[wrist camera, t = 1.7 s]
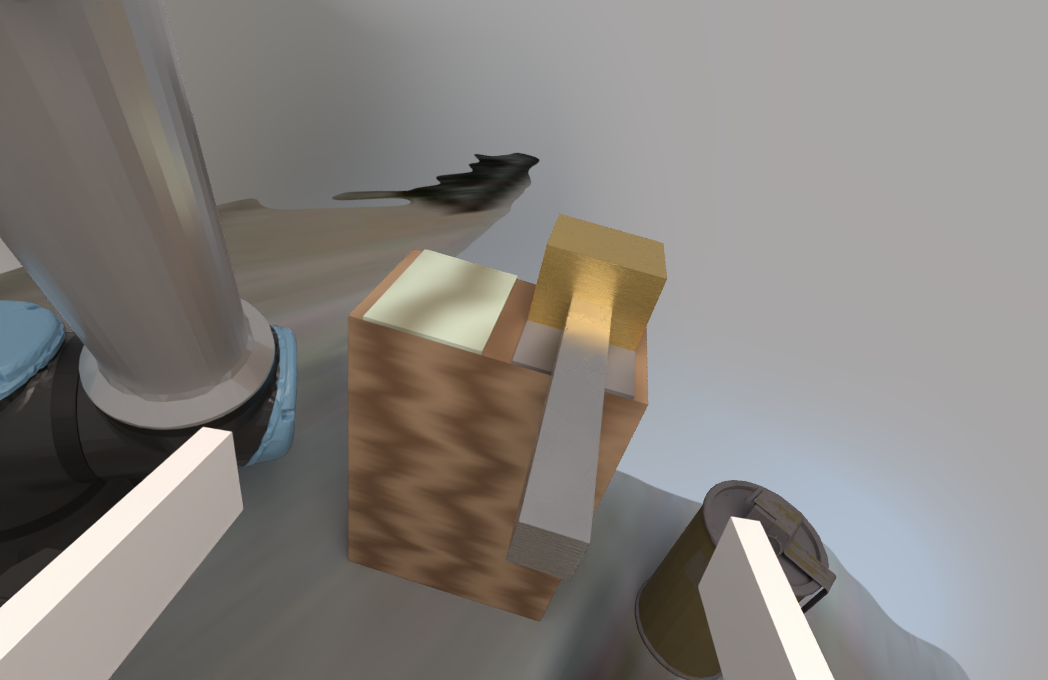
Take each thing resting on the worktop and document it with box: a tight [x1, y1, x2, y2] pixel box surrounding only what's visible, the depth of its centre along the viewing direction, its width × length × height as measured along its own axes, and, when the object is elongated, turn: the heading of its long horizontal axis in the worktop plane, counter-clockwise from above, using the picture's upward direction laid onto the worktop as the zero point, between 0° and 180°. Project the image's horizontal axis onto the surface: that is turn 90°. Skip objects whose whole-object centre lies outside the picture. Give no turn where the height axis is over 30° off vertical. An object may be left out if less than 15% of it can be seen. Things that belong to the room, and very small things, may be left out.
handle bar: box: [505, 214, 667, 581], centre depth 28 cm, size 8×24×6 cm, turn 169°
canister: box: [635, 480, 836, 680], centre depth 45 cm, size 11×10×20 cm
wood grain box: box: [348, 249, 648, 621], centre depth 44 cm, size 20×11×30 cm, turn 79°
